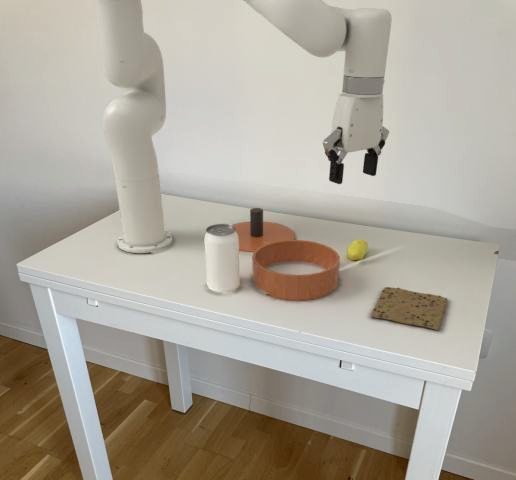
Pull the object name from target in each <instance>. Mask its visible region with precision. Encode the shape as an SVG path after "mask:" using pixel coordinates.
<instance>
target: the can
mask: <svg viewBox="0 0 516 480" xmlns="http://www.w3.org/2000/svg"><path fill="white" fill-rule="evenodd" d="M232 225H233V224H228V223H215V224H211V225H209V226H207V227H206V228H205V231H206V232H205V235H204V239H203V241H204V256H205V259H204V260H205V273H206V274H205V275H206V286H207V288H208V289H209V290H211V291H214V292H216V293H227V292H232V291H235V290H236V289H238V288H239V287H240V284H241V283H240V282H241V281H240V276H241V275H240V251H239V238H238V234H237V232H236V228H235V227H234V226H232Z"/></svg>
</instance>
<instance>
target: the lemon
mask: <svg viewBox="0 0 516 480" xmlns="http://www.w3.org/2000/svg"><path fill="white" fill-rule="evenodd" d="M368 249H369V245H368V242H367V240H365V239H362V238H361V239H360V238H358V239H356V240H353V241H352V242H351V243H350V244H349V246H348V248H347V250H346V254H347V257H348V258H349V260H351V261H358V260H359V261H360V260H363V259H364V257H365V255H366V254H367V253H368Z"/></svg>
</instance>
